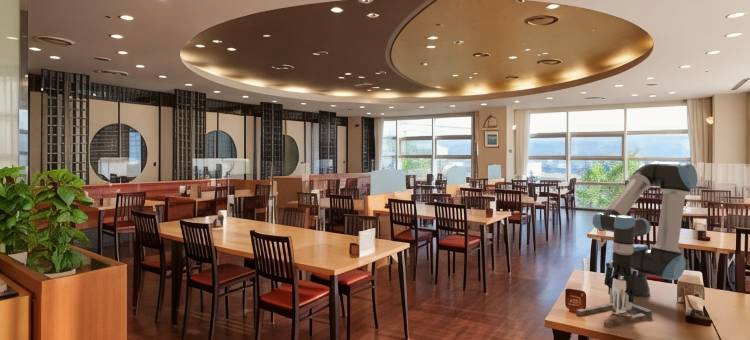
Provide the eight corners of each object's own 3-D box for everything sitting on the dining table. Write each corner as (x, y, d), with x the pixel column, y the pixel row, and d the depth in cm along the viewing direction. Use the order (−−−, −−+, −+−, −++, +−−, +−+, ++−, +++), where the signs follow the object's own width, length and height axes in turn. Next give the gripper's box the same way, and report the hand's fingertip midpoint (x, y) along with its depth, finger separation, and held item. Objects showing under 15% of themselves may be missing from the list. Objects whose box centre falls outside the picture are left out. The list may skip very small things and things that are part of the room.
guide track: (618, 305, 195) (619, 298, 195) (651, 317, 182) (652, 310, 181) (576, 313, 184) (576, 307, 184) (608, 328, 171) (608, 320, 170)
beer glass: (632, 316, 180) (634, 281, 179) (613, 315, 182) (615, 280, 181) (625, 310, 187) (627, 276, 186) (608, 308, 189) (610, 275, 187)
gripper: (596, 248, 190) (593, 299, 192) (639, 259, 172) (636, 316, 174) (608, 246, 193) (605, 297, 195) (651, 257, 175) (648, 313, 177)
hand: (620, 305), depth 184 cm, fingers closed on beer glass, 7 cm apart
